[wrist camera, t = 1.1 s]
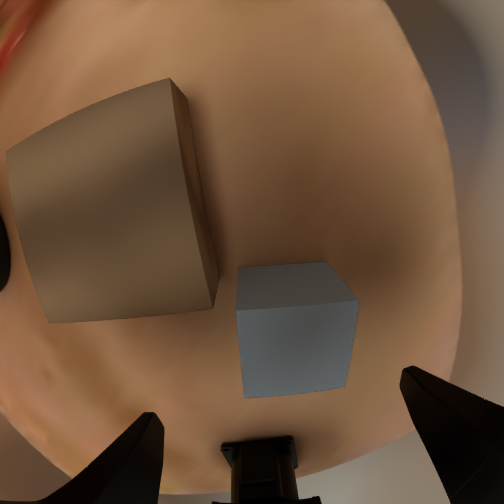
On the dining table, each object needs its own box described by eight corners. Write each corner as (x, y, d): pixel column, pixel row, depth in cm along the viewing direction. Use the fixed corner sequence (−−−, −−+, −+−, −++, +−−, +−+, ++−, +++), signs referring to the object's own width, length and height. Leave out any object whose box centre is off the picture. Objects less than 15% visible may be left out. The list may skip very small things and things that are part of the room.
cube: (322, 334, 17) (344, 386, 12) (243, 341, 17) (244, 398, 12) (326, 261, 15) (359, 299, 11) (238, 266, 15) (235, 310, 10)
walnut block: (219, 275, 16) (213, 308, 12) (80, 294, 16) (49, 323, 12) (188, 100, 13) (169, 77, 9) (46, 150, 13) (5, 151, 9)
